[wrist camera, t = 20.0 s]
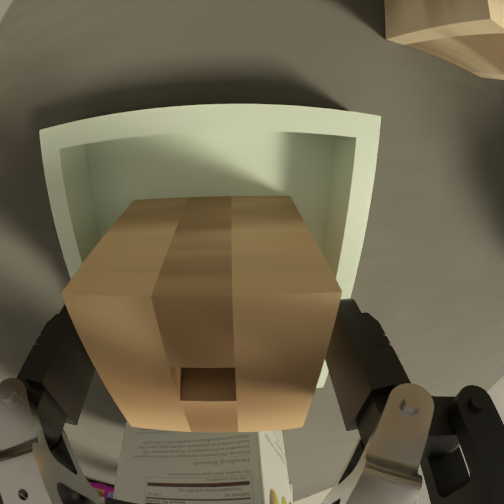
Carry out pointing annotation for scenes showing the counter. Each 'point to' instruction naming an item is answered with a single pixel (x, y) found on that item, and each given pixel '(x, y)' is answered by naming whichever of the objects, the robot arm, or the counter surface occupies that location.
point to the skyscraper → (291, 492)
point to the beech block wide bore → (451, 31)
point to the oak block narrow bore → (207, 313)
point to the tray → (216, 170)
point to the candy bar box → (103, 490)
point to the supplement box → (202, 467)
